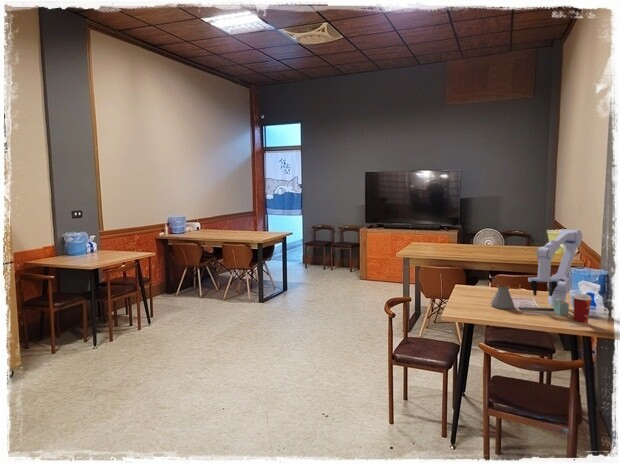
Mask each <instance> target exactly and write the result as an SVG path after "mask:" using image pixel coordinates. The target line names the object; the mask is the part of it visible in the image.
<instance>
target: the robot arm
mask: <svg viewBox="0 0 620 465" xmlns="http://www.w3.org/2000/svg"><path fill="white" fill-rule="evenodd" d="M583 237H584V236H583V232H582V231H581V230H580V229H566V228H561V229H560V230H559V232H558V236H556V238H555V239H550V241H548V242H547V243H546V244H545V245H544V246H540V247H538V248H537V250H536V252H535V253H536V258H537V259H536V260H537V261H538V263H537V264H538V267H537V276H535V277H533V276H532V277H528V278H527V281H528V282H529V284H530V286H531V289H532V292H533V293H532V294H533V296H534V297H537V295H538V294H537V292H538V291H537V289H538V285H539V283H547V289H548V295H547V296H548V297H547V303H548V304H549V306H551V307H552V308H554V300H557V299H561V300H563V301H565V302H566V303H567V294H568V293H570V292H571V288H572V280H571V279H570V277H568V275H569V272H570V269H571V267H572V264H573V261H574V257H575V254H576V251H577V249H578V248H580V247H581V244H582V240H583ZM561 245H562V246H564V247H565V249H564V251H563V254H562V257H561V261H560V263H559V267H558V269H557V272H556V273H555V274H553V275H551V269H552V268H551V267H552V266H551V265H552V259H553V258H554V256H555V253H556V252H557V251H558V250H560V248H561Z"/></svg>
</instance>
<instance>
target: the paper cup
mask: <svg viewBox="0 0 620 465" xmlns="http://www.w3.org/2000/svg"><path fill="white" fill-rule="evenodd" d="M572 298H573V316H574V317H573V320H574V321H576V322H577V323H586V324H588V322H589V316H590V310H591V309H590V307H591V303H592V300H593V298H592V296H591V295H589V294H585V293H575V294H574V295H573V297H572Z"/></svg>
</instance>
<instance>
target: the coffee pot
mask: <svg viewBox="0 0 620 465" xmlns="http://www.w3.org/2000/svg"><path fill="white" fill-rule="evenodd" d="M491 279H492V280H493V282H494V283H495V285H496V287H497V290H496V292H495V294H494V296H493V298H492V300H491V303H490V304H491V306H492V307H493V308H495V309H498V310H513V309H514V307H515V303H514V301H513V299H512V295H511V294H510V291H509V290H510V288H511V286H510V285H505V284H499V283H498V280H496V278H495V276H491Z"/></svg>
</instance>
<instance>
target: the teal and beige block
mask: <svg viewBox="0 0 620 465" xmlns="http://www.w3.org/2000/svg"><path fill="white" fill-rule="evenodd" d="M553 308H554V312H556V313H557V314H559V315H568V313H569V308H570V307H569V303H568V302H567V301H566V302H565V301H563V300H561V299H557V300H554V307H553Z"/></svg>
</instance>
